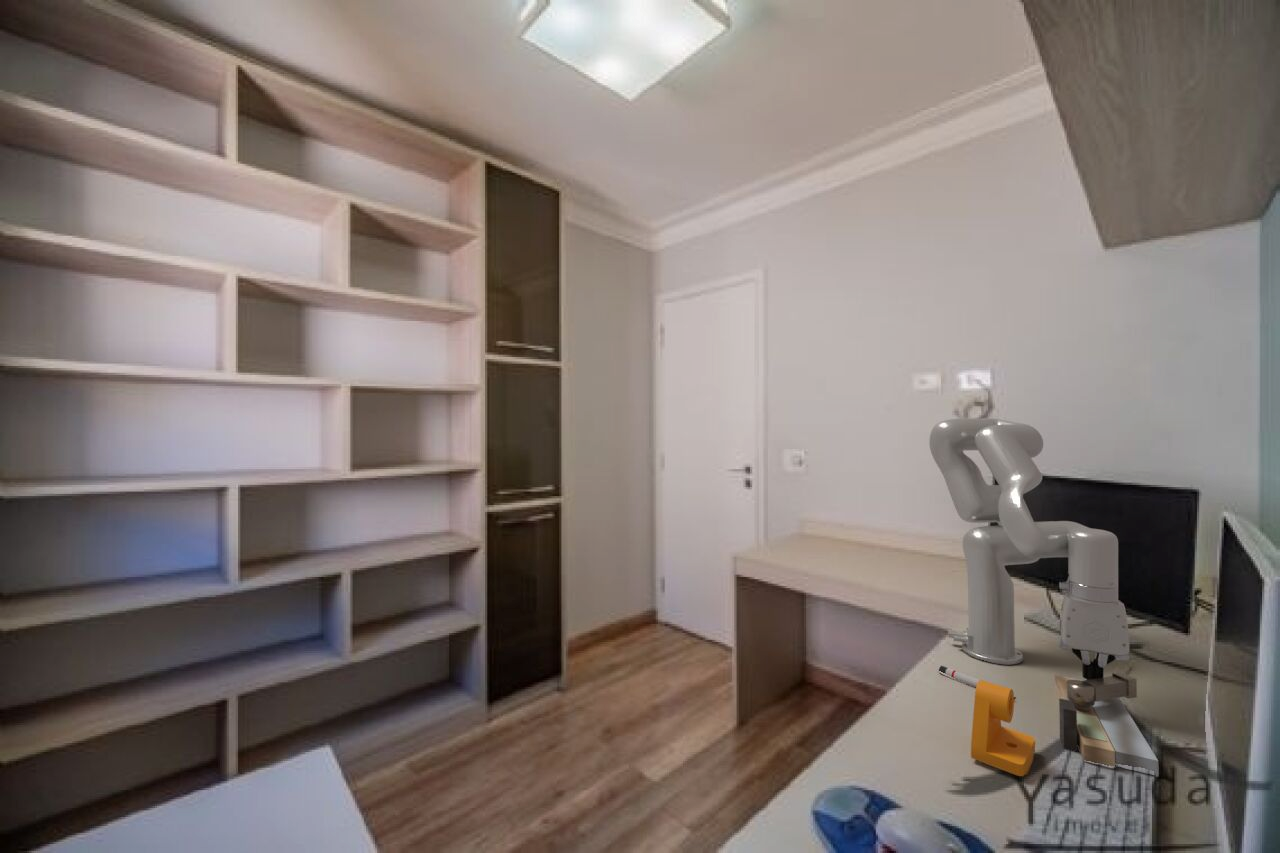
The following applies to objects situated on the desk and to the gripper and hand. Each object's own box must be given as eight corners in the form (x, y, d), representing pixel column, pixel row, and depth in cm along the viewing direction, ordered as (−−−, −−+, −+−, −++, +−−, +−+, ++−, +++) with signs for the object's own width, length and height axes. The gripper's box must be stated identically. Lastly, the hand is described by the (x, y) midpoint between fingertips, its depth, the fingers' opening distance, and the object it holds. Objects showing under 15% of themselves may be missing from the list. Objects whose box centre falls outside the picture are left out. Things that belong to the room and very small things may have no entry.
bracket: (1023, 783, 84) (1022, 708, 84) (971, 762, 89) (970, 691, 89) (1036, 753, 91) (1035, 684, 91) (987, 735, 96) (986, 670, 96)
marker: (938, 675, 120) (938, 666, 120) (943, 673, 121) (943, 664, 121) (1014, 705, 107) (1013, 695, 107) (1018, 702, 108) (1018, 692, 108)
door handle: (1083, 708, 97) (1083, 689, 97) (1061, 698, 101) (1061, 679, 101) (1140, 698, 100) (1139, 680, 100) (1116, 688, 104) (1116, 670, 104)
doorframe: (1067, 757, 89) (1066, 717, 89) (1042, 686, 114) (1041, 654, 114) (1160, 780, 83) (1160, 736, 84) (1113, 700, 108) (1112, 666, 108)
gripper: (1048, 591, 105) (1048, 681, 105) (1149, 604, 97) (1149, 702, 97) (1043, 581, 111) (1043, 666, 111) (1137, 592, 103) (1137, 684, 104)
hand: (1092, 683), depth 104 cm, fingers closed
